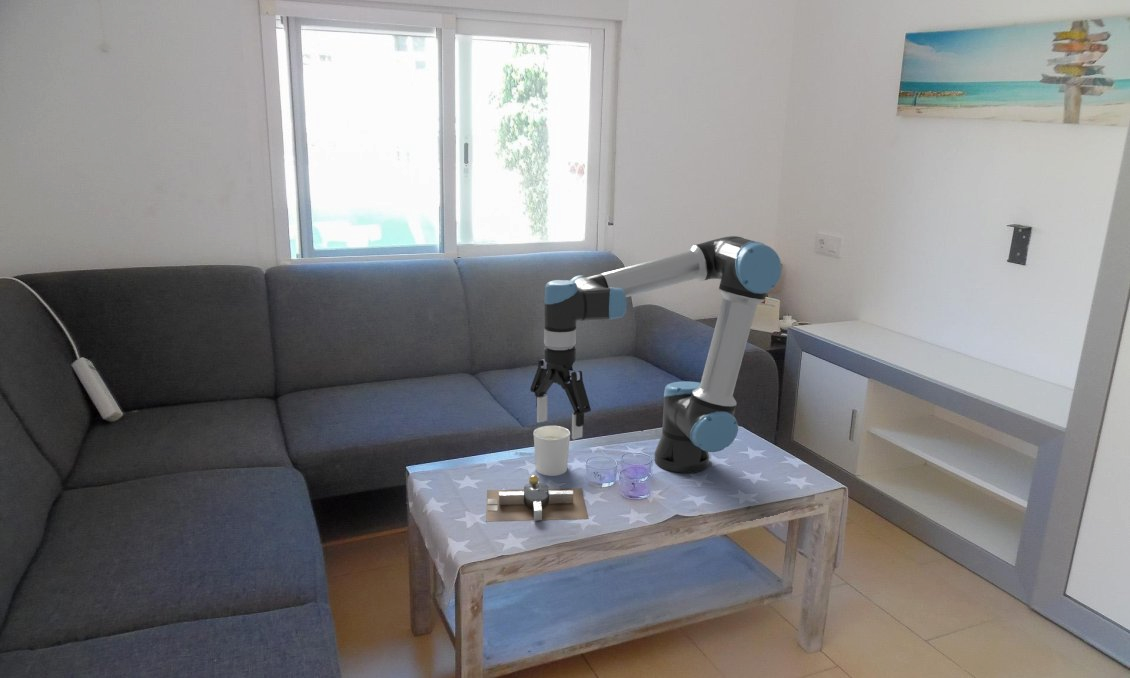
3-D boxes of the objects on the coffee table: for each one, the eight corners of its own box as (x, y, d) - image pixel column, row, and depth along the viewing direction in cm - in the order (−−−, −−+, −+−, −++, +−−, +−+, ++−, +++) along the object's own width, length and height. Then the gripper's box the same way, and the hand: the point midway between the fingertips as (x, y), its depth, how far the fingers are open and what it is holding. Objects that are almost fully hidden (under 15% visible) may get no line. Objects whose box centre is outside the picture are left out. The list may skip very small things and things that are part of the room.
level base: (581, 493, 198) (581, 487, 198) (588, 524, 183) (588, 518, 182) (487, 495, 196) (487, 489, 196) (486, 527, 181) (486, 520, 180)
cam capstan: (569, 485, 198) (570, 462, 197) (576, 520, 181) (577, 495, 179) (499, 487, 197) (498, 463, 195) (499, 522, 180) (498, 496, 178)
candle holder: (565, 483, 204) (566, 441, 200) (529, 479, 205) (529, 437, 202) (572, 468, 213) (573, 427, 210) (537, 464, 215) (538, 424, 212)
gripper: (607, 355, 177) (604, 441, 183) (540, 332, 196) (540, 411, 202) (582, 360, 173) (580, 449, 178) (516, 337, 191) (516, 417, 197)
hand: (559, 429), depth 190 cm, fingers open, 13 cm apart
